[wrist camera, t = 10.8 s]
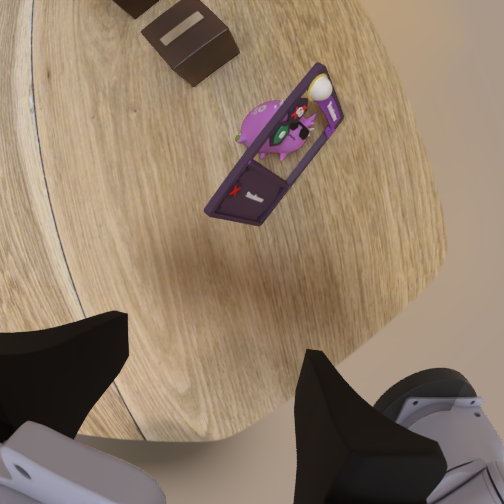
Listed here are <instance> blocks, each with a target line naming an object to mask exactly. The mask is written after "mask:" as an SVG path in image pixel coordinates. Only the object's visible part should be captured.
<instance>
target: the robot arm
mask: <svg viewBox="0 0 504 504" xmlns="http://www.w3.org/2000/svg"><path fill="white" fill-rule="evenodd" d="M128 356H129V344H128V314H127V313H123V312H119V311H110V312H106V313H102V314H99V315H96V316H92V317H89V318H86V319H83V320H80V321H76V322H73V323H69V324H65V325H62V326H58V327H54V328H49V329H44V330H37V331H29V332H15V333H0V504H166V497H165V494H164V493H163V491H162V489H161V487H160V486H159V484H158V483H157V481H156V480H155V479H153V478H152V477H151V476H149V475H148V474H147V473H146V472H145V471H143V470H142V469H141V468H138V467H137V466H134V465H132V464H130V463H128V462H126V461H124V460H122V459H120V458H117V457H114V456H112V455H109V454H107V453H104V452H101V451H99V450H97V449H94V448H92V447H89V446H87V445H85V444H82V443H80V442H78V441H75V440H74V438H75V436H76V434H77V432H78V430H79V428H80V427H81V425H82V423H83V421H84V420H85V418H86V416H87V415H88V413H89V412H90V410H91V409H92V407H93V406H94V405H95V403H96V402H97V401H98V400H99V398H100V397H101V396H102V395H103V393H104V392H105V391H106V389H107V388H108V387H109V386H110V384H111V383H112V382H113V381H114V379H115V378H116V377H117V375H118V374H119V373H120V371H121V369H122V368H123V366H124V364H125V362H126V360H127V358H128ZM414 401H416V402H415V403H413V402H414ZM482 402H483V398H482V397H413V396H411V397H408V398H407V399H406V400H405V402H404V404H403V406H402V408H401V410H400V413H399V415H398V417H397V419H396V421H395V422H394V421H392V420H390V419H389V418H387V417H386V416H384V415H383V414H381V413H380V412H379V411H377V410H376V409H374V408H373V407H372V406H371V405H369V404H368V403H367V402H366V401H365V400H364V399H362V398H361V397H360V396H359V395H358V394H357V393H356V392H355V391H354V390H353V389H352V387H351V386H349V384H348V383H347V382H346V381H345V380H344V379H343V377H342V376H341V375H340V374H339V373H338V371H337V370H336V369H335V367H334V366H333V365H332V363H331V362H330V361H329V359H328V358H327V357H326V355H325V354H324V353H323V351H319V350H311V349H306V353H305V357H304V361H303V365H302V369H301V372H300V376H299V380H298V383H297V387H296V392H295V405H294V417H295V433H296V449H297V471H296V484H295V494H294V503H293V504H504V447H503V443H502V441H501V439H500V437H499V435H498V434H497V432H496V430H495V429H494V427H493V426H492V424H491V422H490V421H489V419H488V418H487V417H486V415H485V413H484V412H483V410H482V409H481V407H480V406H481V404H482Z"/></svg>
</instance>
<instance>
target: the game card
mask: <svg viewBox="0 0 504 504" xmlns="http://www.w3.org/2000/svg"><path fill="white" fill-rule="evenodd" d="M306 90H308V92H307V98H308V99H307V98H301V96H302V95H303V94H304V93H305V91H306ZM308 100H310V101H314V100H315V101H316V103H317V104H318V105H319V107H320V108H321V109H322V111H323V112H324V114H325V116H326V118H327V120H328V122H329V125H328V126H327V128H326V129H325V131H324V132H323V133H322V135H321V136H320V137H319V139H318V140H317V141H316V142H315V144H314V145H313V146H312V148H311V149H310V150H309V151H308V153H307V154H306V155H305V157H304V158H303V159H302V160H301V162H300V163H299V164H298V166H297V167H296V168H295V170H294V171H293V172H292V173H291V175H290V176H289V177H288V179H287V180H286V181H284V180H283V179H281V178H280V177H279V176H277V175H276V174H274V173H273V172H271V171H270V170H268V169H267V168H265V167H264V166H262V165H261V164H259V163H258V162H256V161H255V160H253V158H254V157H255V155H256V154H257V153H258V152H260V153H261V154H260V159H263V158H264V157H265V156H266V155H267V154H268V153H280V161H283V159H284V158H285V157H286V155H287V154H288V153H290V152H293V151H296V150H297V149H299V148H300V147H301V146H302V145H303V144H304V143H305V141H306V139H307V137H309V136H310V135H308V134H309V131H312V130H313V129H315V128H309V126H311V125H313V124H314V123H315V122H312V121H313V120H314V119H315V117H316V113H314V114H313V116H311V117H309V118H307V119H306V118H305V117H304V114H305V112H306V111H307V105H308ZM343 118H344V115H343V112H342V109H341V106H340V103H339V101H338V98H337V95H336V92H335V90H334V87H333V84H332V82H331V79H330V76H329V74H328V71H327V69H326V66H324V65H322V64H321V63H316V64H315V65H314V66H313V67H312V68H311V70H310V71H309V72H308V73H307V74H306V76H305V77H304V78H303V79H302V80H301V82H300V83H299V84H298V85H297V87H296V88H295V89H294V90H293V91H292V93H291V94H290V95H289V96H288V98H287V99H286V100H285V101H284V99H283V100H282V101H279V100H274V101H268V102H265V103H263V104H261V105H259V106H257V107H256V108H254V109H253V110H252V111H251V112H250V113H249V114H248V115H247V116H246V118H245V119H244V121H243V123H242V127H241V134H240V133H239V134H240V135H236V137H235V141H236V142H238V143H242V142H244V143H245V145H246V146H247V147H248V149H247V150H246V152H245V153H244V155H243V156H242V157H241V159H240V160H239V161H238V163H237V164H236V165H235V167H234V168H233V169H232V171H231V172H230V173H229V175H228V176H227V178H226V179H225V180H224V182H223V183H222V184H221V186H220V187H219V189H218V190H217V191H216V193H215V194H214V196H213V197H212V198H211V200H210V201H209V203H208V204H207V205H206V207H205V208H204V212H205V213H206V214H207V215H208V216H209V217H213V218H218V219H224V220H229V221H234V222H239V223H245V224H250V225H255V226H261V225H262V224H263V222H264V221H265V220H266V218H267V217H268V216H269V214H270V213H271V212H272V211H273V209H274V208H275V207H276V205H277V204H278V203H279V201H280V200H281V199H282V198H283V196H284V195H285V194H286V192H287V191H288V190H289V189H290V187H291V186H292V185H293V183H294V182H295V181H296V179H297V178H298V177H299V176H300V174H301V173H302V172H303V170H304V169H305V168H306V167H307V165H308V164H309V163H310V161H311V160H312V159H313V157H314V156H315V155H316V154H317V152H318V151H319V150H320V148H321V147H322V146H323V145H324V143H325V142H326V141H327V139H329V137H330V136H331V134H332V133H333V132H334V131H335V129H336V128H337V127H338V125H339V124H340V123H341V121H342V120H343Z"/></svg>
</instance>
